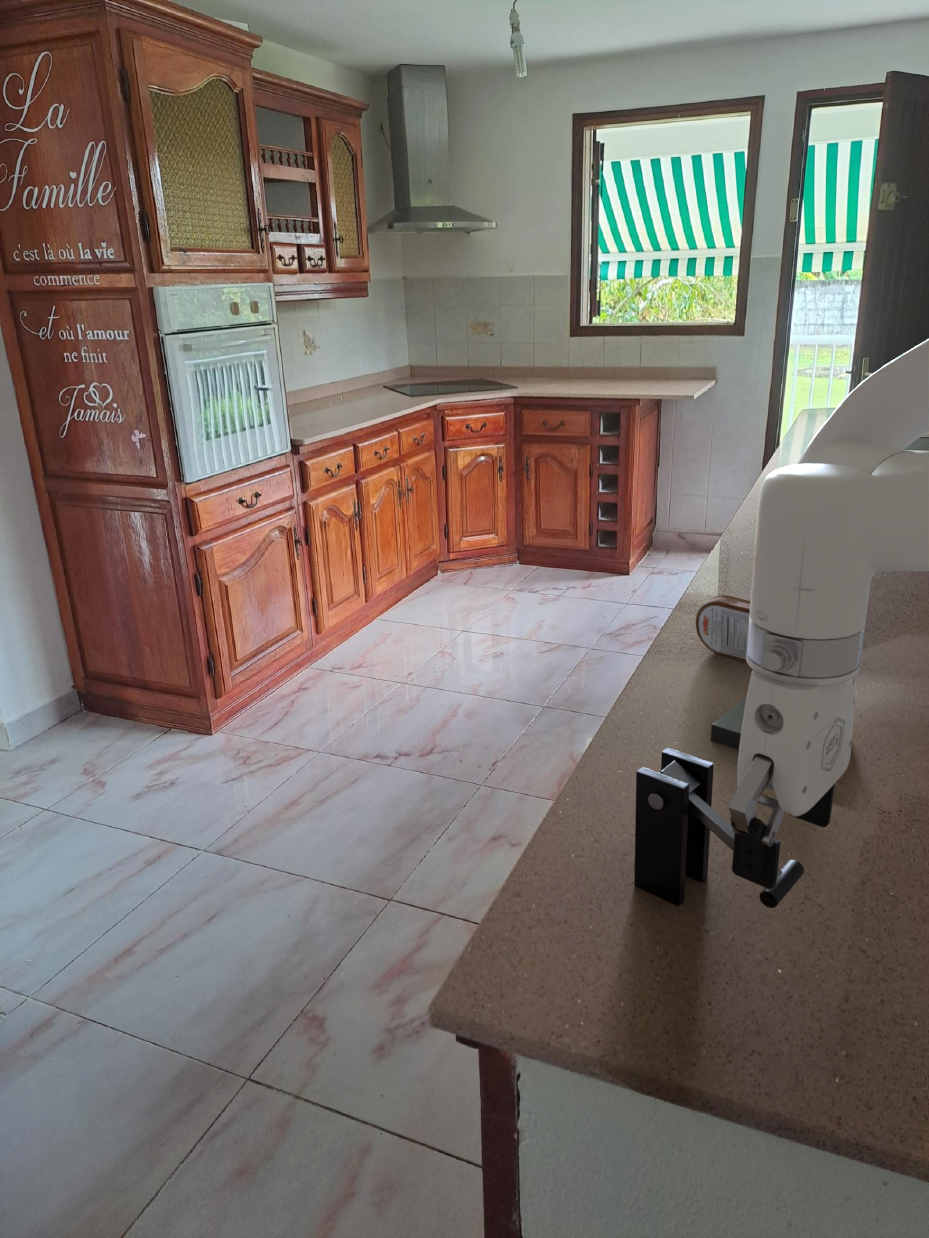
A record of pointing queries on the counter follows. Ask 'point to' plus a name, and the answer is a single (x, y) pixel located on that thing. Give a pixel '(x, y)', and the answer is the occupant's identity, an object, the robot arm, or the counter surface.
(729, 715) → the control block
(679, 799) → the bracket
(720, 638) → the tin
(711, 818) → the lever
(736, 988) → the counter surface
